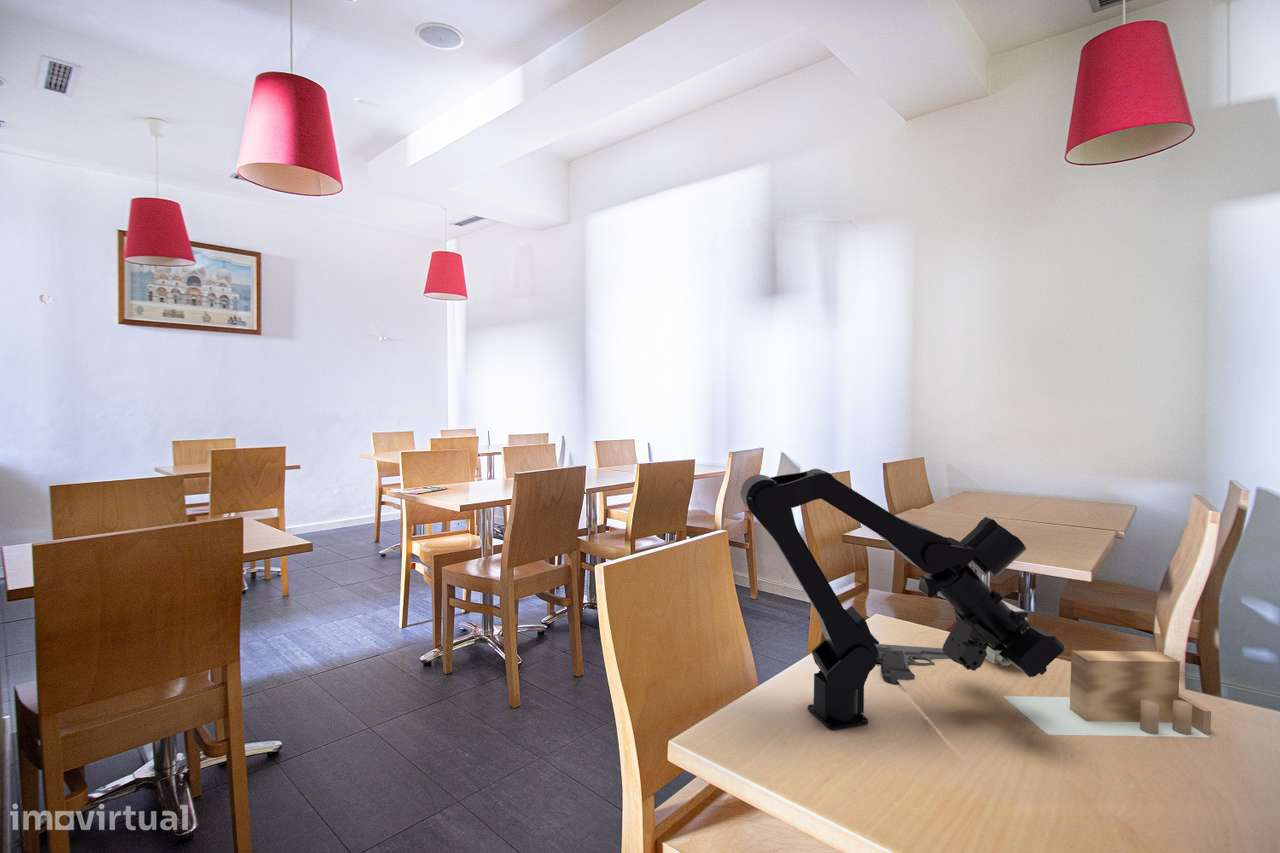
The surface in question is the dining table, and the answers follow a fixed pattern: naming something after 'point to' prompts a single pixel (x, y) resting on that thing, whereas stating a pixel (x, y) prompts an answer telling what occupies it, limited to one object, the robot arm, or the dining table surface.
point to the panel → (1063, 721)
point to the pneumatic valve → (994, 655)
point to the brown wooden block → (1122, 684)
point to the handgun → (904, 660)
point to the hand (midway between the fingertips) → (1042, 671)
